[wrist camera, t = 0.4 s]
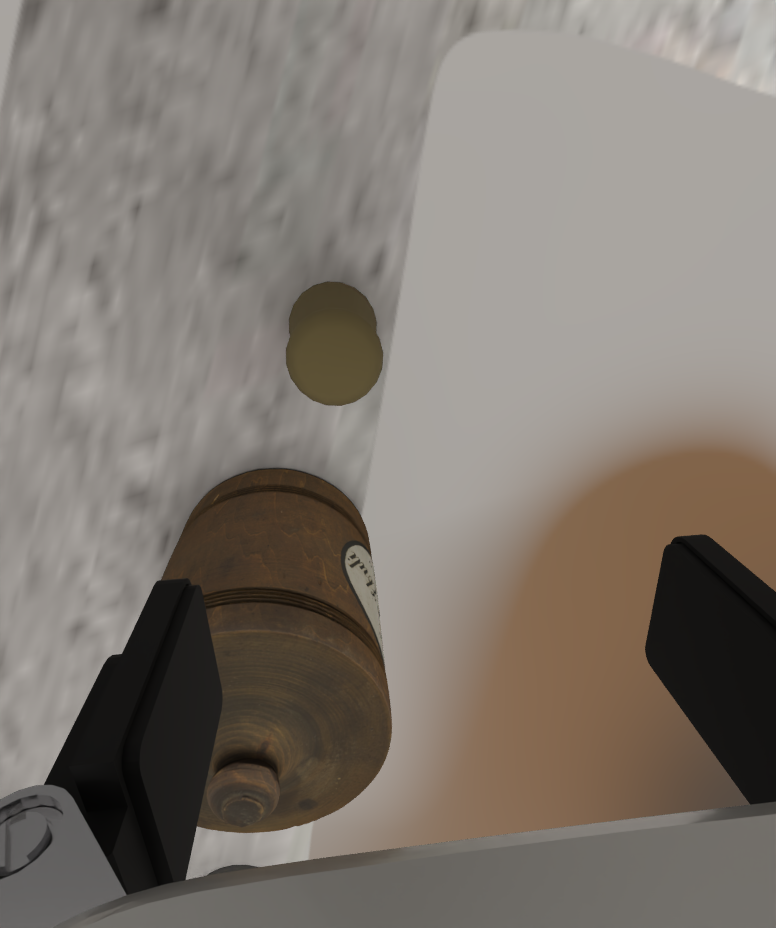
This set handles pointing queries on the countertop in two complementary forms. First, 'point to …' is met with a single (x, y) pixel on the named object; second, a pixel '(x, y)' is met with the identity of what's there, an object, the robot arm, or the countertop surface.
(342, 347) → the cork
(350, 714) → the wooden container
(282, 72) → the countertop surface
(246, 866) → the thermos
